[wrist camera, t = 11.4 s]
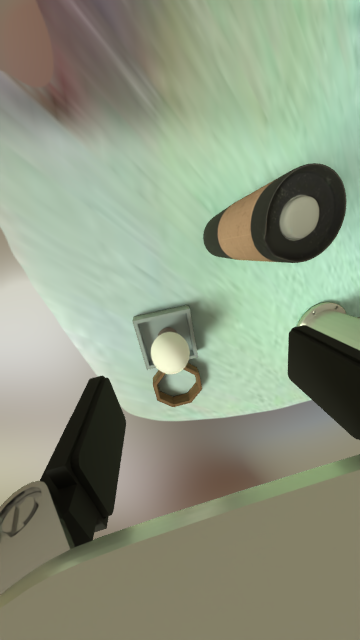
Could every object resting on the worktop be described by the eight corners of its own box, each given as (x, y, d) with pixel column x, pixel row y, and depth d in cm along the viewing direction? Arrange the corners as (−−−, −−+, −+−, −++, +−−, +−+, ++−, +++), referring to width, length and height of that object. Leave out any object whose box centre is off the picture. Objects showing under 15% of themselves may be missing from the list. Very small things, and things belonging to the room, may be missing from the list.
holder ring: (194, 356, 42) (197, 362, 40) (201, 391, 46) (203, 399, 43) (149, 367, 41) (149, 374, 39) (159, 402, 45) (160, 410, 43)
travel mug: (244, 214, 33) (362, 167, 15) (237, 259, 36) (330, 266, 17) (203, 210, 32) (275, 153, 14) (199, 257, 35) (255, 261, 16)
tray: (187, 305, 38) (189, 308, 35) (195, 351, 42) (198, 357, 39) (133, 316, 37) (132, 321, 34) (147, 362, 41) (146, 369, 38)
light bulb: (175, 315, 37) (184, 339, 27) (187, 342, 40) (200, 373, 30) (144, 329, 37) (142, 358, 27) (159, 355, 40) (162, 390, 30)
